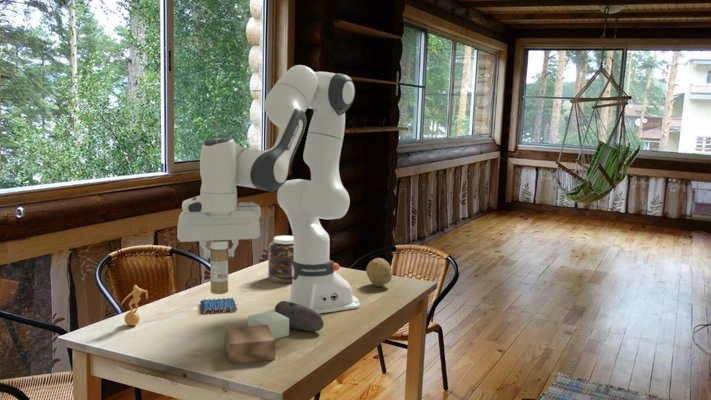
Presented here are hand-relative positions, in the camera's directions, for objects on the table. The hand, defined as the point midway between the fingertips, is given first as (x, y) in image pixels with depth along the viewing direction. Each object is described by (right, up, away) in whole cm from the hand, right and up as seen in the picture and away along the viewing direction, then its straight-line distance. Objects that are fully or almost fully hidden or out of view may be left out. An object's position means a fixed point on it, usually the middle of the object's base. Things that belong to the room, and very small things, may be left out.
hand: (219, 257), depth 159 cm
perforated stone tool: (+19, -22, +19) cm, 34 cm away
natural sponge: (+42, -16, +62) cm, 77 cm away
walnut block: (+7, -24, +1) cm, 25 cm away
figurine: (-27, -21, +17) cm, 38 cm away
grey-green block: (+10, -22, +14) cm, 28 cm away
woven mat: (-8, -19, +34) cm, 40 cm away
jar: (+9, -14, +67) cm, 69 cm away
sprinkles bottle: (0, -9, +1) cm, 9 cm away
